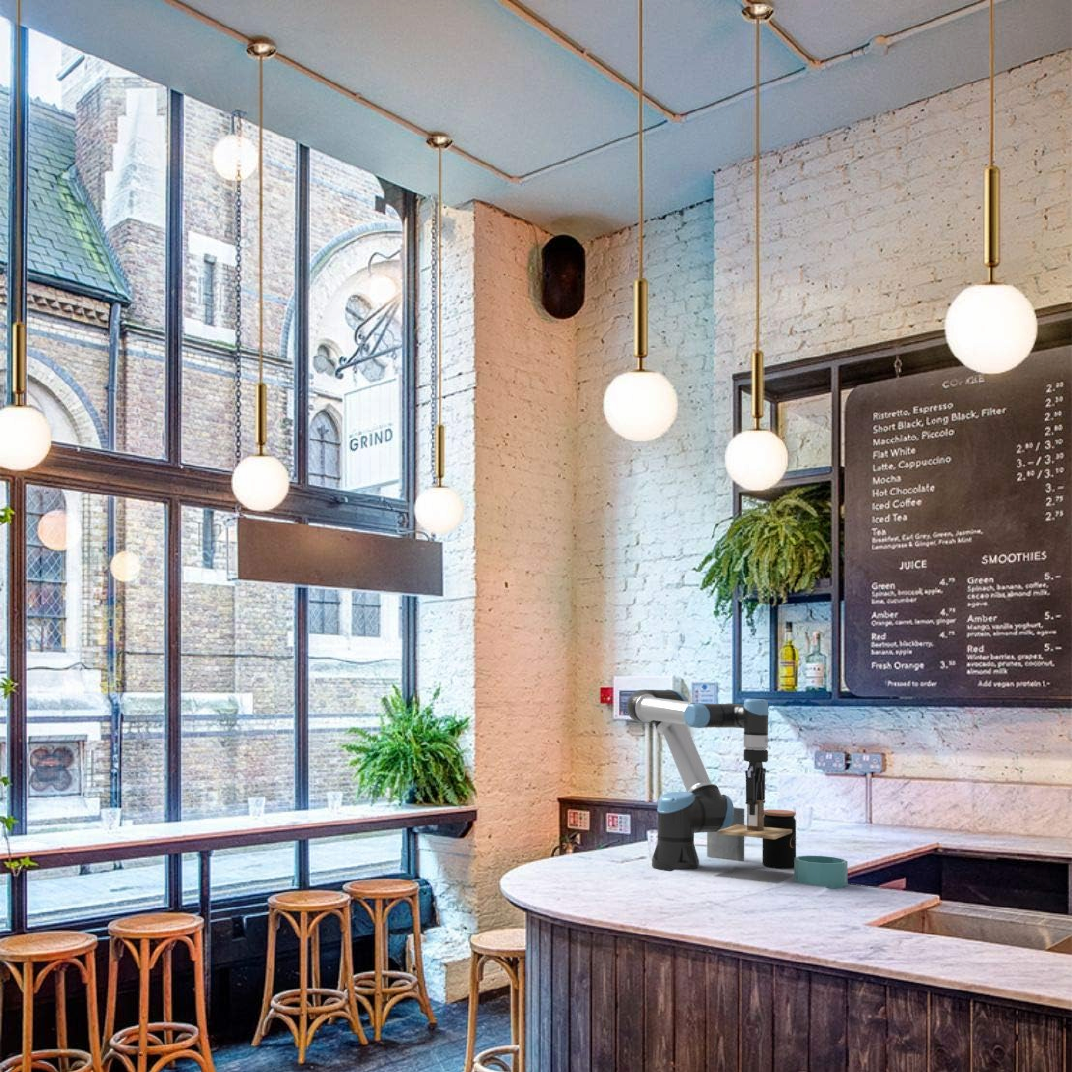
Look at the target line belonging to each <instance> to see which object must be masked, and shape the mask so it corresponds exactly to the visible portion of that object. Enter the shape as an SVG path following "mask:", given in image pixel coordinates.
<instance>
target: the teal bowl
mask: <svg viewBox="0 0 1072 1072" xmlns="http://www.w3.org/2000/svg"><path fill="white" fill-rule="evenodd" d="M793 871H794V874H795V875H794V881H795V882H797V883H798V884H799V883H800V884H804V885H810V886H818V887H819V886H820V887H825V889H840V888H846V887H847V886H848V882H849V881H848V880H849V879H848V878H849V877H848V872H849V871H848V860H846V859H844V858H841V857H840V858H839V857H836V856H828V855H827V856H826V855H800V856H799V855H797V856H796V858H794V868H793Z"/></svg>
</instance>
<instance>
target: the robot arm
mask: <svg viewBox="0 0 1072 1072" xmlns="http://www.w3.org/2000/svg"><path fill="white" fill-rule="evenodd" d="M626 712H627V714H628V717H630V719H632V720H633V721H635V722H637V723H640V724H654V725H655V728H656V731H657V732H658V733H659V734H660V735H663V736H664V739H665V741H666V743H667V744H666V745H667V747H668V749H669V751H670V754H671V755H672V759H673V762H674V763H675V766H676V768H677V771H678V774H679V776H680V777H681V780H682V782H683V785H684V788H685V790H686V791H679V792H678V791H674V792H669V793H667V792H666V793H664V794H662V795H660V797H659V798H658V799H657V800H658V801H657V803H658V804H657V808H656V810H657V842H656V846H655V849H654V852H653V855H652V859H651V867H652V868H653V869H658V870H663V871H672V872H673V871H675V870H679V871H683V870H684V871H686V870H695V869H698V868H700V860H699V856H698V852H697V849H696V845H695V839H694V838H695V834H697V833H698V834H699V833H707V832H718V830H721V829H724V828H727V827H729V826H730V825H731V823H732V821H733V816H734V803H733V800H732V798H731V797H730V796H728V795H726V794H722V793H721V791H720V789H719V787H718V785H717V784H715V783H712V781H711V780H710V777H709V775H708V772H707V770H706V768H705V766H704V762H703V761H702V758H701V756H700V754H699V752H698V749H697V747H696V744H695V742H694V740H693V737H692V735H691V733H690V730H689V728H695V729H703V728H704V729H705V728H706V729H708V728H716V729H719V728H723V729H724V728H725V729H726V728H727V729H729V728H731V729H733V728H734V729H737V728H738V729H743V747H744V749H743V761H745V762H748V768H747V770H745V771H744V773H745V804H746V805H747V804H748V826H758V805H757V804H756V803H757V800H764V804H765V803H766V800H765V799H766V772H767V768H766V767H764V763H767V762H768V761H769V751H768V749H767V748H768V747H769V742H770V740H771V739H770V738H769V714H770V712H769V703H768V701H767V700H766V699H763V698H761V699H760V698H746V699H744V701H743V704H738V703H732V702H731V703H701V702H694V701H689V700H688V698H687V696H686V694H684V693H683V692H681V691H680V690H673V689H640V690H636V691H634V692H633V693H632V694H630V696H629V697H628V699H627V700H626ZM688 727H689V728H688Z"/></svg>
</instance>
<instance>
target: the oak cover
mask: <svg viewBox="0 0 1072 1072" xmlns="http://www.w3.org/2000/svg"><path fill="white" fill-rule="evenodd" d="M756 804H757V805H758V826H748V804H746V805H747V806H746V808H747V809H746V816H747V817H746V819H747V820H746V824H744V825H740V824H736V825H733V826H730V827H727V828H724V829H721V830H718V834H725V835H735V836H744V838H746V837H748V838H756V839H763V838H765V839H777V838H780V837H782V836H785V835H788V834H790V833H792V829H782V828H771V827H764V810H765V806H764V805H765V803H764V800H757V803H756Z"/></svg>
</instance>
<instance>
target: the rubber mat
mask: <svg viewBox="0 0 1072 1072" xmlns="http://www.w3.org/2000/svg"><path fill="white" fill-rule="evenodd" d="M714 877H718V878H719V877H720V878H729V879H736V880H745V881H754V882H764V883H772V884H779V883H781V882H783V881H784V880H785V881H786V880H788V879H789V878H792V877H795V874H794V873H793V872H784V871H783V872H782V871H774V870H764V869H754V868H746V867H739V866H738V867H733V868H730V869H728V870H725V871H722V872H720V873H718V874H716V875H714Z"/></svg>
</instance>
